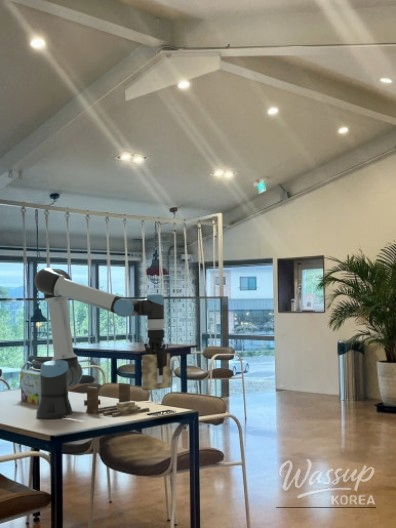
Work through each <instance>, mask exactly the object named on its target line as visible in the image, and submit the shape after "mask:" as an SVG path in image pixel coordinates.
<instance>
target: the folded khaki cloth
mask: <svg viewBox="0 0 396 528" xmlns="http://www.w3.org/2000/svg"><path fill="white" fill-rule="evenodd" d="M141 366H142V367H141V368H142V369H141V370H142V371H141V372H142V373H141V376H142V377H141V379H142V380H141V381H142V384H141V385H142V391H157V390H162V389H169V388H172V387H171V385H172V383H171V379H172V378H171V353H169V352H167V366H165V367H164V368H163V383H157V367H158V362H157V354H152V355H146V354H144V355H141Z"/></svg>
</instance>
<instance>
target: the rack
mask: <svg viewBox="0 0 396 528" xmlns="http://www.w3.org/2000/svg"><path fill="white" fill-rule="evenodd" d="M98 399H99V387H96V386H87V387H86V400H87V406H86V410H85V412H84V414H87V415H88V414H89V415H95V416H101V417H108V418H115V417H122V416H128V415H129V416H130V415H134V414H139V413H140V414H141V413H146V412H150V411H151V410H150V408H149V407H145V408H141V406H138V410H131V411H125V412H119V413H116V410H118V407H116V404H115V405H109V406H102V407H99V404H98ZM128 401H131V383H127V382H119V383H118V403H120V402H128Z"/></svg>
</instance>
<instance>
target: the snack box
mask: <svg viewBox="0 0 396 528" xmlns="http://www.w3.org/2000/svg"><path fill="white" fill-rule="evenodd" d="M20 396H21V397H20V401H22V402H25V403H29V404H32V405H34V406H35V405H36V406H39V402H40V399H41V374H40V371H35V370H29V369H28V370H20Z"/></svg>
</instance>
